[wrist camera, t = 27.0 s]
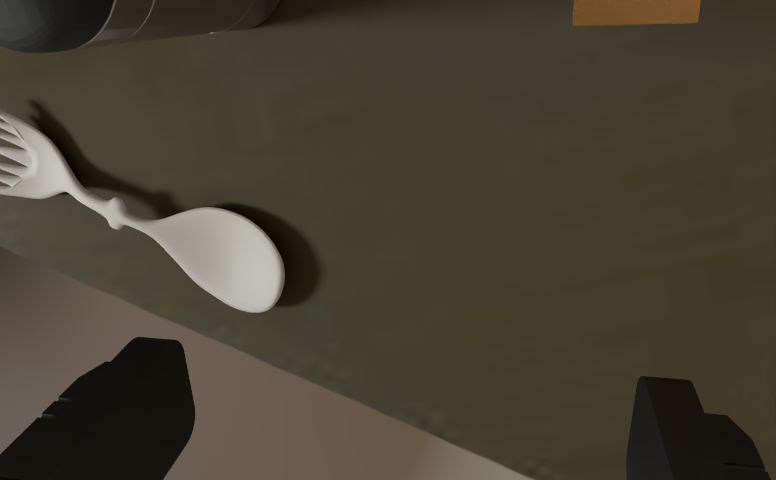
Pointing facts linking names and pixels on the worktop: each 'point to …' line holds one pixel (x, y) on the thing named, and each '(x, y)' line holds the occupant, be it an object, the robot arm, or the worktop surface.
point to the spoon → (159, 225)
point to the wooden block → (634, 12)
